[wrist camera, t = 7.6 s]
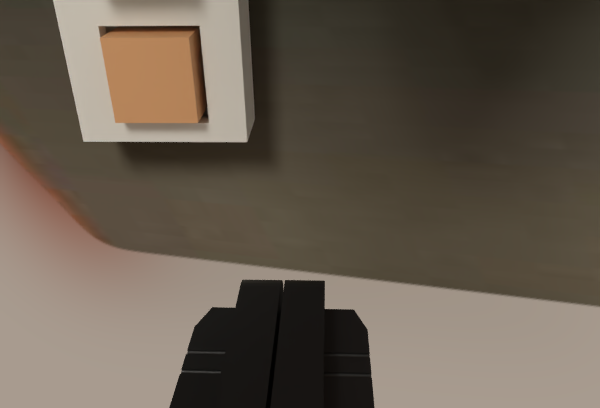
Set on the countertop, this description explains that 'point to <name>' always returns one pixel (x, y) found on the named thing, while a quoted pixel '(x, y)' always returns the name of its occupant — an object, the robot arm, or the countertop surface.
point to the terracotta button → (155, 73)
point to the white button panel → (162, 12)
